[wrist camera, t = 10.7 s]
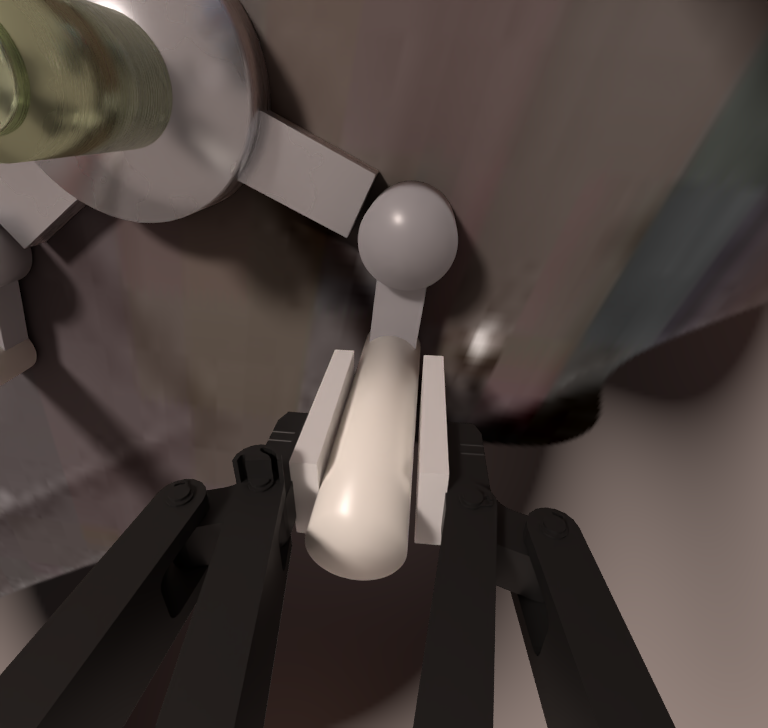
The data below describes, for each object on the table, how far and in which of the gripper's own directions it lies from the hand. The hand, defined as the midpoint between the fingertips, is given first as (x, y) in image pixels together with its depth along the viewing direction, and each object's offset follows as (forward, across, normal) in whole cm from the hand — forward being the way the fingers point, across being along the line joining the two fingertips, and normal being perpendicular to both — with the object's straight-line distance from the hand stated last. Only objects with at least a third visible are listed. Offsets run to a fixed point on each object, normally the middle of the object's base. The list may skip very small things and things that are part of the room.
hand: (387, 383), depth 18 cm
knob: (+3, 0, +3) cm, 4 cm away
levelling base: (+4, -10, +12) cm, 16 cm away
